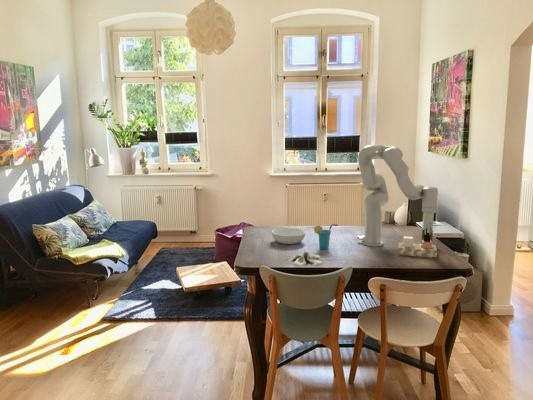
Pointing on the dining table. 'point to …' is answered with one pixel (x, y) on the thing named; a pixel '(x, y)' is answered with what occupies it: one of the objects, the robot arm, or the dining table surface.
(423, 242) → the terracotta key
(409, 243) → the ivory key
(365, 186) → the robot arm
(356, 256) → the dining table surface
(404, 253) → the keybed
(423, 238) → the condiment
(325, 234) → the cup
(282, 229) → the serving bowl
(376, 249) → the dining table surface
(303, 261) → the cloth
